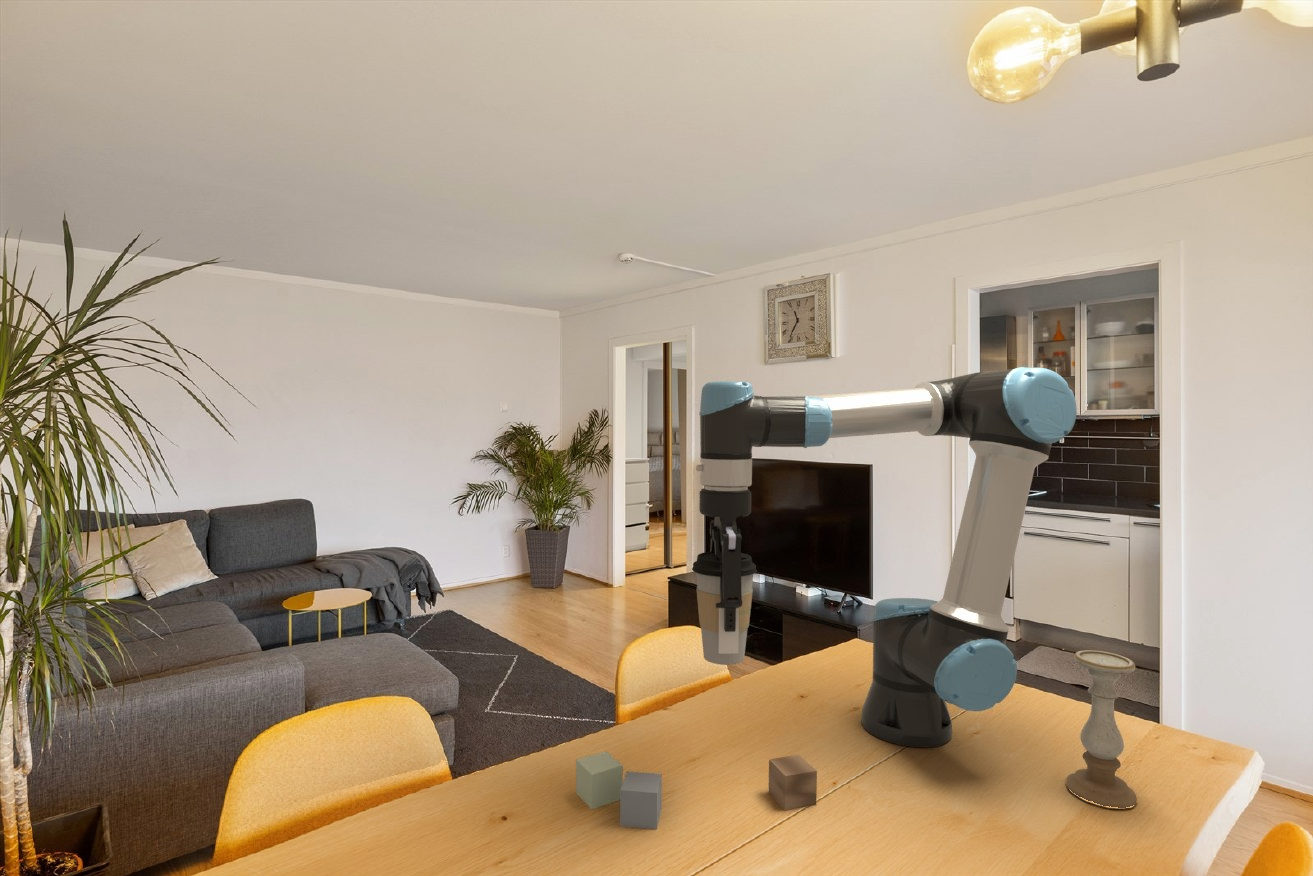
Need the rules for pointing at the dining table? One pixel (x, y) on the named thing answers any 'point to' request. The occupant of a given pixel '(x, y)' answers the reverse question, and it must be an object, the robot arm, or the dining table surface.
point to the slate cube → (640, 800)
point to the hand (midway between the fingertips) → (723, 642)
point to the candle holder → (1102, 734)
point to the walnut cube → (792, 782)
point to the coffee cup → (710, 595)
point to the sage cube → (599, 779)
